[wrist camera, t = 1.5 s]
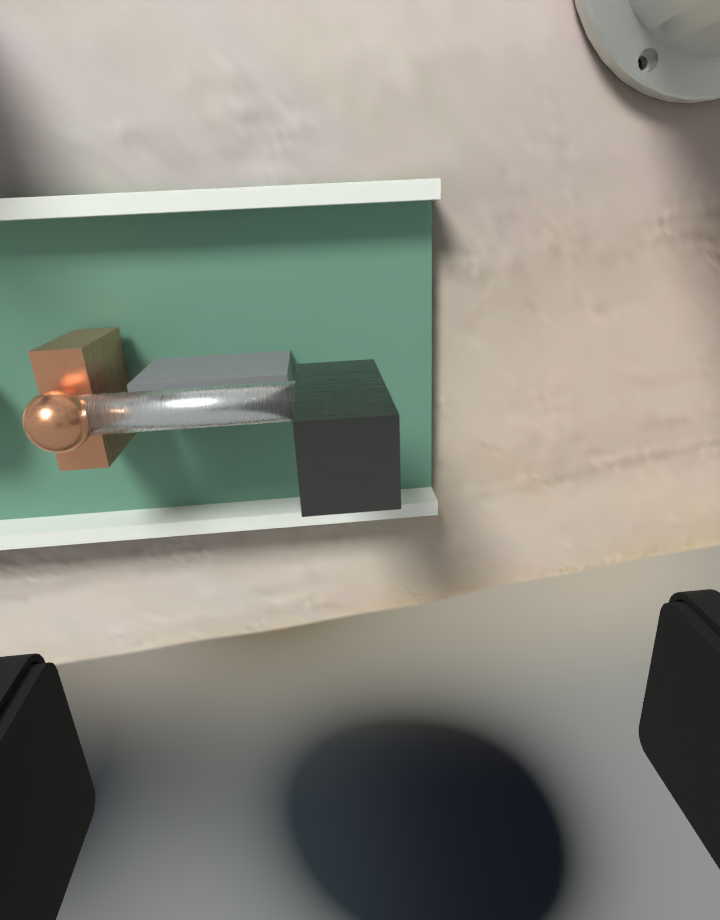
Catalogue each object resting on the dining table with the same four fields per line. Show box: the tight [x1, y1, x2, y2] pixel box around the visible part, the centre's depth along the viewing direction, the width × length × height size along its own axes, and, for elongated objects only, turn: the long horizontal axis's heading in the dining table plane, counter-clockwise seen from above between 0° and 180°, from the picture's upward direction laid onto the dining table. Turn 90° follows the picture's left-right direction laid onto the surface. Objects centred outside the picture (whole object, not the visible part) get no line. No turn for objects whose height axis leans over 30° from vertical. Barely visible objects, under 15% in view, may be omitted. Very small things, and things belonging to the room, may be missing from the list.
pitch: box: [0, 178, 441, 550], centre depth 26 cm, size 34×16×6 cm, turn 93°
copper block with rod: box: [22, 327, 401, 517], centre depth 22 cm, size 13×5×12 cm, turn 93°
